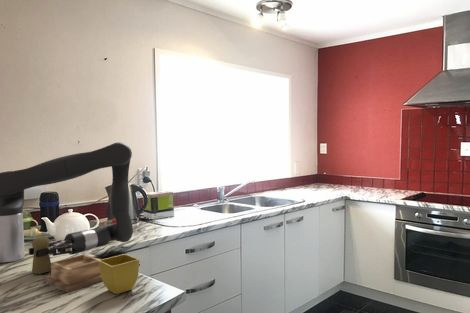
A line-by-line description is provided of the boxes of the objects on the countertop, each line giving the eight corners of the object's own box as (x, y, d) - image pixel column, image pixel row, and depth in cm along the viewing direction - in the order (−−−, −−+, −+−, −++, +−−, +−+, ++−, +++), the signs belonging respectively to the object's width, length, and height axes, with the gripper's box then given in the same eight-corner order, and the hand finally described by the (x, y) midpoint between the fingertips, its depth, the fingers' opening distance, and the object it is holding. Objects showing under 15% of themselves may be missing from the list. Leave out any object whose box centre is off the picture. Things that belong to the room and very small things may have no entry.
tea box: (166, 214, 226) (165, 190, 226) (174, 216, 218) (173, 191, 218) (143, 217, 216) (142, 192, 216) (151, 220, 209) (150, 194, 208)
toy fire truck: (100, 236, 172) (99, 216, 172) (123, 239, 166) (122, 218, 166) (94, 238, 169) (94, 217, 168) (118, 241, 163) (117, 219, 163)
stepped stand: (44, 282, 114) (43, 263, 114) (86, 269, 125) (85, 252, 125) (67, 292, 106) (66, 272, 106) (110, 278, 117) (109, 259, 117)
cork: (55, 266, 127) (53, 235, 126) (46, 273, 121) (45, 239, 120) (37, 267, 127) (36, 235, 126) (28, 273, 121) (26, 240, 120)
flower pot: (98, 290, 107) (97, 259, 107) (126, 282, 113) (125, 253, 113) (112, 299, 101) (111, 266, 100) (141, 289, 107) (140, 259, 107)
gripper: (71, 228, 139) (22, 238, 126) (91, 234, 130) (41, 245, 117) (71, 248, 139) (23, 260, 126) (92, 254, 131) (42, 268, 117)
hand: (32, 253), depth 121 cm, fingers closed on cork, 4 cm apart
